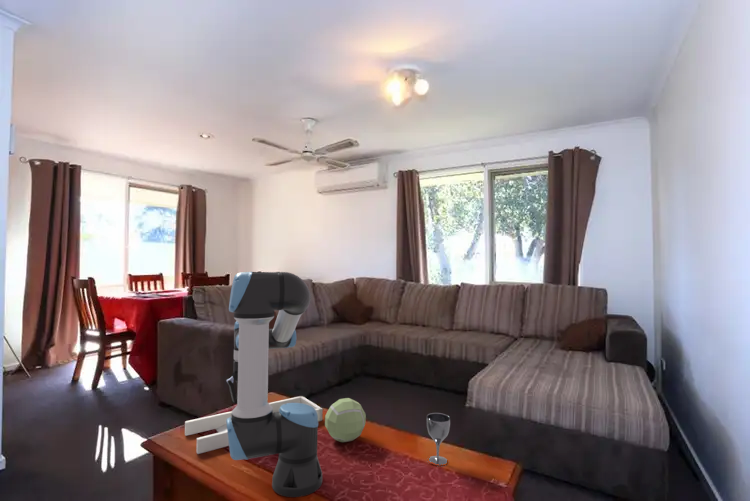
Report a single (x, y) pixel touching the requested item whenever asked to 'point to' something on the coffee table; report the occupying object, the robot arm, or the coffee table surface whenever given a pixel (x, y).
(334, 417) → the tennis ball
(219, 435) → the trap lane
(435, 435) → the wine glass
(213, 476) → the coffee table surface
